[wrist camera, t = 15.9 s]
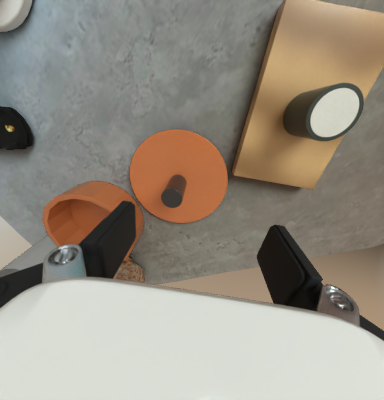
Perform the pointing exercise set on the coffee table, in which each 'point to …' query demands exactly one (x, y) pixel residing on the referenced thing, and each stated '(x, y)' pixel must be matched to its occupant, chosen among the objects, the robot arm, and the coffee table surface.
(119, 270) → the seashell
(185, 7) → the coffee table surface
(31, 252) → the cup
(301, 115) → the sushi
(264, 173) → the board
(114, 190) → the bowl
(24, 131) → the toy car
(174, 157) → the lid
